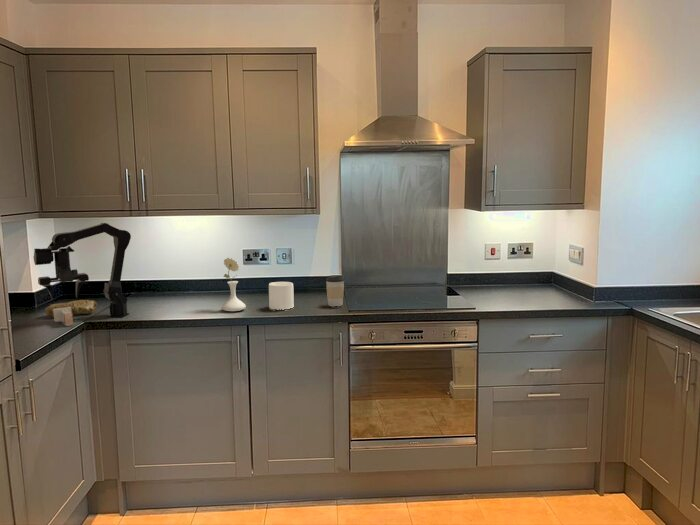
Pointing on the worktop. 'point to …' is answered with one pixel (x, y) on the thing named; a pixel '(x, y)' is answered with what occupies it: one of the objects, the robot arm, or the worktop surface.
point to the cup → (281, 295)
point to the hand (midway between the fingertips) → (65, 298)
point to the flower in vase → (232, 289)
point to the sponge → (74, 307)
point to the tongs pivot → (57, 313)
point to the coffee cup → (335, 290)
